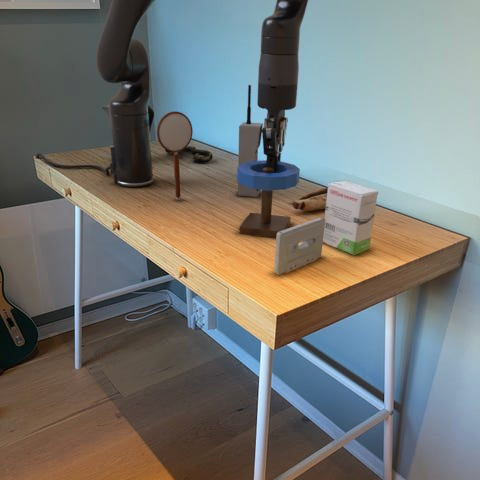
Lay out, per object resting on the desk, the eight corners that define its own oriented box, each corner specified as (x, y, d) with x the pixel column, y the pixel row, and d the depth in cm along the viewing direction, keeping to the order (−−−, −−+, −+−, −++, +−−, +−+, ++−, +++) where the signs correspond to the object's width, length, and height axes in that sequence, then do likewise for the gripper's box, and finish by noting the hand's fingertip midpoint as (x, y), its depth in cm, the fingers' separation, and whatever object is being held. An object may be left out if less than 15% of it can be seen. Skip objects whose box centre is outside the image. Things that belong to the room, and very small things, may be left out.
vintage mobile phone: (257, 197, 121) (261, 86, 108) (237, 196, 122) (239, 85, 109) (260, 193, 125) (264, 84, 111) (240, 191, 125) (242, 83, 112)
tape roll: (231, 186, 95) (231, 173, 94) (246, 170, 105) (247, 158, 104) (292, 193, 93) (293, 179, 91) (302, 176, 103) (303, 163, 101)
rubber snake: (215, 145, 146) (184, 151, 142) (216, 161, 148) (186, 167, 144) (189, 135, 159) (160, 141, 155) (191, 150, 162) (163, 156, 158)
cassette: (279, 276, 85) (282, 235, 81) (271, 272, 86) (274, 231, 82) (323, 257, 92) (328, 218, 88) (315, 254, 93) (320, 215, 89)
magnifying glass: (163, 204, 116) (157, 113, 105) (160, 202, 117) (154, 112, 106) (195, 198, 120) (193, 110, 109) (192, 196, 121) (189, 109, 110)
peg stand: (239, 233, 102) (240, 172, 95) (250, 218, 109) (251, 161, 102) (282, 238, 100) (286, 177, 93) (290, 223, 107) (294, 165, 100)
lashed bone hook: (334, 196, 125) (276, 206, 116) (336, 178, 122) (278, 186, 114) (360, 206, 118) (301, 217, 109) (363, 186, 116) (303, 196, 107)
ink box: (369, 249, 96) (380, 190, 90) (353, 256, 93) (362, 195, 87) (336, 236, 101) (344, 179, 95) (320, 241, 99) (326, 183, 93)
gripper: (266, 76, 100) (262, 162, 109) (249, 83, 89) (247, 179, 98) (303, 77, 98) (296, 165, 108) (290, 86, 87) (284, 183, 96)
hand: (272, 172), depth 103 cm, fingers closed on tape roll, 2 cm apart
